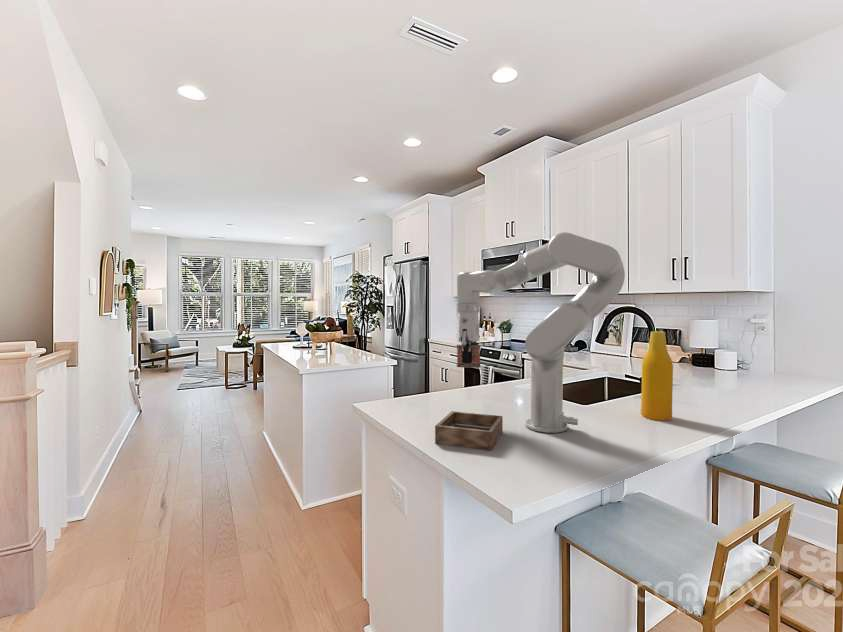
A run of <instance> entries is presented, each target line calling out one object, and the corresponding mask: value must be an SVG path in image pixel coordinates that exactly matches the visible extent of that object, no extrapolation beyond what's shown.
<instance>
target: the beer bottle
mask: <svg viewBox="0 0 843 632" xmlns="http://www.w3.org/2000/svg"><path fill="white" fill-rule="evenodd" d="M666 337H667V336H666V332H665V331H650V336H649V343H648V348H647V352H646V353H645V354H644V356H643V358H642V359H643V360H642V362H641V363H642V364H641V398H640V399H641V404H640V405H641V406H640V414H641V416H642V418H645V419H648V420H651V421H658V422H659V421H661V422H663V421H664V422H665V421H667V422H668V421H670V420H672V417H673V387H674V386H673V385H674V384H673V383H674V380H673V379H674V377H673V375H674V364H673V360H672V357H671V355H670V354H669V351H668V347H667V340H666V339H667V338H666Z"/></svg>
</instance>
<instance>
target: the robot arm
mask: <svg viewBox="0 0 843 632" xmlns="http://www.w3.org/2000/svg"><path fill="white" fill-rule="evenodd" d="M623 263H624V262H623V261H622V257H621V255H620V253H619V252H618V251H617V249H616V248H615V247H613V246H610V245H609V244H606V243H602V242H599V241H596V240H592V239H588V238H585V237H582V236H580V235H576V234H573V233H571V232H565V231H564V232H560V233H556V234H555V235H554V236H552V238H550V240H549V241H548V242H547V243H545V244H543V245H539V246H537V247H536V248H533V249H530V250H528V251H525V252H524V253H523V254H522V255H521V256H520V257H519V259H518V260H516V261H515V262H513V263H512V264H510V265H508V266H505V267H503V268H500V269H498V270H491V269H490V270H489V269H485V270H479V271H461V272H459V273H457V278H456V281H457V282H456V284H457V285H456V289H457V290H456V291H457V292H456V293H457V296H456V297H457V298H456V301H457V302H456V303H457V304H456V305H457V306H456V307H457V311H456V312H457V314H459V321H458V325H459V327H458V337H459V338H458V341H459V340H460V341H461V342H460V343H461V345H462V362H463V363H472V351H471V342H472V343H473V345H474V342H476V341H477V342H479V341H480V319H479V313H480V311H481V308H480V307H481V306H480V303H481V302H480V297H481V296H480V293H483V294H500V293H502V292H505V291H508V290H510V289H512V288H515V287H517V286H520V285H523V284H524V283H526V282H529V281H532V280H534V279H535V278H538V277H541V276H542V275H545V274H548V273H550V272H552V271H554V270H558V269H560V268H562V267H565V266H570V267H573V268H576V269H579V270H582V271H585V272H588V273H590V274H593V275H592V279H591V280H590V281H589V282H588V284H586V285H585V286H584V287H583V288H582V289H581V290H580V291H579V292H578V293H577V294H576V295H575V296H574V297H572V298H571V299H570V300H569V301H567V302H563V303H561V304H560V305H557V307H556V308H554V309H553V310H551V312H550V313H548V315H547V316H546V317H545V318H544V319H543V320H541V322H540V323H538V324H537V326H536V327H534V328H533V329H532V330H531V331H530V332H529V333H528V334H527V335H526V336H527V337H526V338H525V341H524V342H525V343H524V348H525V350H526V354H528V356H529V358H531V365H530V366H531V367H530V369H531V370H530V418H528V419H527V420H525V426H526V427H527V428H528V429H530V430H532V431H535V432H539V433H546V434H547V433H548V434H549V433H550V434H551V433H552V434H557V433H563V432H565V431H567V430H568V428H569V427H568V426H569V425H572V426H579V425H578V421H579V419H578V418H575V417H573V416H566V415H565V413H564V412H565V411H563V401H564V400H563V395H564V394H563V393H564V392H563V390H564V389H563V388H564V387H563V385H564V380H563V379H564V358H565V355H564V354H565V348H566V346H567V345H568V344H570V342H572V340H574V339H575V338H576V337H577V336H578V335H579V334H580V333H582V332H583V331H584V330H585V329H586V328H587V327H588V325H589V324H590V323H591V322H593V320H594V319H595V318H596V317H598V315H600V313H602V312H603V311H604V310H605V309H606V308H607V307H609V305H610V304H611V303H612V302H613V301H614V300H615V299H616V298H617V296H618V295H619V294H620V292H621V290H622V288H623V287H624V283H625V278H626V277H625V267H624V264H623ZM466 341H469V342H466ZM468 344H469V345H468Z"/></svg>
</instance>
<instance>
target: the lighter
mask: <svg viewBox="0 0 843 632" xmlns="http://www.w3.org/2000/svg"><path fill="white" fill-rule="evenodd" d="M459 342H460V343H462V342H461V341H460V340H459V339H458V343H459ZM466 342H469V341H466ZM477 343H478V341H476V342H474V345H473V343H472V342H471V351H472V363H463V362H462V344H456V356H457V357H456V358H457V359H456V367H457V368H473V369H475V368H476V369H477V368H481V344H477ZM468 345H469V344H468Z"/></svg>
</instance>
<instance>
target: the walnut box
mask: <svg viewBox="0 0 843 632" xmlns="http://www.w3.org/2000/svg"><path fill="white" fill-rule="evenodd" d="M503 424H504V423H503V415H496V414H495V415H493V414H485V413H483V414H482V413H473V412H462V411H453V410H452V411H450V412H449V413H448V414H447V415H445V416H444V417H443V418H442V419H441V420H440V421H439V422H438V423H436V424H435V426H434V433H435V435H434V437H435V438H434V440H435V441H434V444H435V445H436V444H437V445H445V446H451V447H452V446H454V447H460V448H461V447H462V448H466V449H467V448H468V449H476V450H484V451H491V452H492V451H493V449H494V448H495V445H497V443H498V441H499V439H500V437H501V436H502V434H503V431H504V430H503V429H504V428H503Z"/></svg>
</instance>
